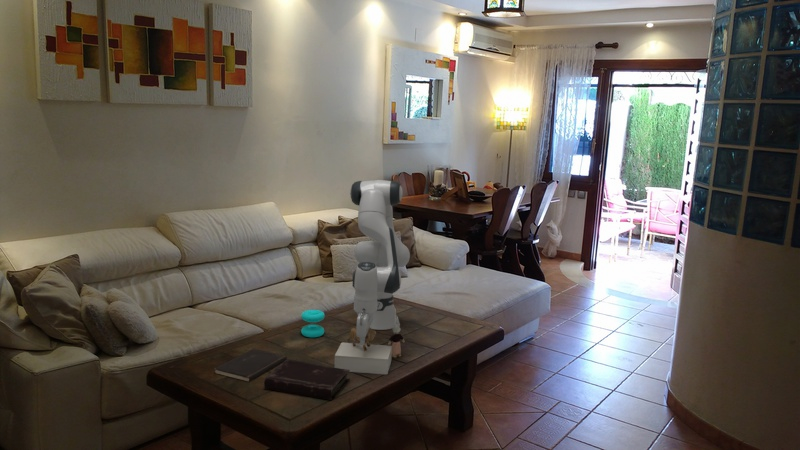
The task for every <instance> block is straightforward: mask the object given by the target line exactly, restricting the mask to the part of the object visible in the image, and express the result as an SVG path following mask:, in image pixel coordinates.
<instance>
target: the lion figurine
mask: <svg viewBox="0 0 800 450" xmlns="http://www.w3.org/2000/svg"><path fill="white" fill-rule="evenodd" d="M376 334H377V331H376V330H375V329H371V328H369V330H368V333H367V335H366V337H365V344H367V347H370V346H371V345H369V344H370V343H371V341H373V340H374V339H375V336H376ZM351 339H352V340H351ZM350 340H351V343H353V346H356V344H355V342H356V341H359V342H360V338H359V337H357V336H356V327H352V328H351V329H350V337H349V338H348V339H347V341H350ZM363 348H364V351H366V350H367V349H366V346H365V345H363Z"/></svg>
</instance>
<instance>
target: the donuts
mask: <svg viewBox="0 0 800 450" xmlns="http://www.w3.org/2000/svg"><path fill="white" fill-rule="evenodd" d="M325 318H326V317H325V312H324V311H322V310H318V309H307V310H305V311H303V312H302V313H301V319H302V320H303V321H305V322H307V323H318V322H321V321H323V320H324V319H325ZM300 332H301V334H302V336H304V337H305V338H306V337H307V338H311V339H312V338H313V339H314V338H320V337H321V336H323V335H324V333H325V329H324V327H323V326H321V325H318V324H307V325H304V326H303V327H302V328H301V331H300Z"/></svg>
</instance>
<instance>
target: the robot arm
mask: <svg viewBox="0 0 800 450" xmlns="http://www.w3.org/2000/svg"><path fill="white" fill-rule="evenodd" d="M403 192H404V191H403V187H402V185H401V183H400V182H399V181H396V180H386V179H385V180H384V179H376V180H375V179H374V180H364V181H363V180H357V181H354V183H352V185H351V188H350V192H349V195H350V200H351V202H352V204H354V205H355V206H358V214H357V225H358V226H357V227H358V229H359V231H360V232H361V233H362V234H363V235H364V236H365V237H367V238H369V239H372V240H362V241H359V242H358V243H357V244H356V245H355V248H354V253H353V254H354V258H355V260H356V262H357V265H356V269H354V271H353V272H352V284H351V285H352V287H353V289H354V295H353V311H354V312H356V315H357V318H356V326H355V328H356V336H357V337H359V338H360V341H359V344H360V345H365V344H366V343H365V337H366V335H367V333H368V330H369V328H371V329H372V330H374V331H376V330H378V331H383V330H392V329H393V327H394V326H395V325H398V326H399V327H400V328H401V323H400V319H399V317H398V315H397V309H396V307H395V305H394V302H395V301H394V300H395V298H394V295H393V294H395V293H396V292H397V291H399V289H400V288H401V284H402V277H401V272H400V269H399V268H404V267H406V266H407V264H408V263H409V261H410V258H411V253H410V249H409V248H408V247H407V245H405V244H404V243H403V242H402V241H401V240H400V239H399V237H398V236H397V234H396V231H395V228H394V216H393V215H394V212H393V210H394V209H393V206H398V205H399V204H400V203H401V201H402V199H403V194H404V193H403Z"/></svg>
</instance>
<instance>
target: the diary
mask: <svg viewBox="0 0 800 450" xmlns="http://www.w3.org/2000/svg"><path fill="white" fill-rule="evenodd" d="M334 367H335V366H334ZM334 367H333V366H328V365H327V366H326V365H321V364H315V363H311V362H308V361H303V360H295V359H289V358H287V360H285V361H284V362H283V363H282V364H280V365H278V366H276V367H275V368H274V369H272V371H271V372H270V373H269V374H268V375H267V376H266V377H265V378H264V382H263V387H264V388H263V389H265V390H269V391H276V392H282V393H287V394H293V395H298V396H299V395H300V396H306V397H312V398H316V399H321V400H329V401H333V398H334V397H333V396H334V395H335V394H336V393H337V392H338V391H339V390H340V389H342V390H343V388H344V387H346V385H347V384H348V383H349V382H350V380H351V378H348V375H349V374H348V373H350V372H349V371H350V370H347V369H340V368H334Z"/></svg>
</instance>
